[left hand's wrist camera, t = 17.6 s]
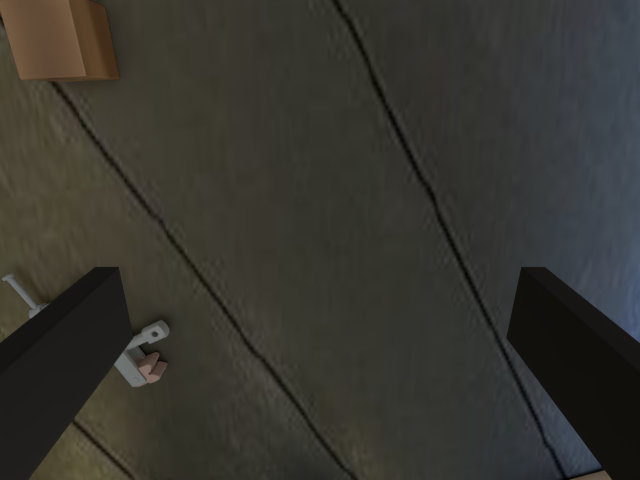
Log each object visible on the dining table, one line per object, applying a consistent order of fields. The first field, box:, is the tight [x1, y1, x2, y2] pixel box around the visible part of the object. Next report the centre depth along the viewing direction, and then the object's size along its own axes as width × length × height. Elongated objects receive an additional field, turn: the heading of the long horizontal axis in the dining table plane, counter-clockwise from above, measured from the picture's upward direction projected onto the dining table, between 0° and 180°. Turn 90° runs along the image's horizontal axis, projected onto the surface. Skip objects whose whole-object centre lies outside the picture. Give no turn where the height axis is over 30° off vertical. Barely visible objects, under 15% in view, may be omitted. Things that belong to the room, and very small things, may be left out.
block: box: [0, 0, 120, 82], centre depth 27 cm, size 4×5×5 cm
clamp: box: [2, 273, 170, 387], centre depth 36 cm, size 15×2×10 cm
